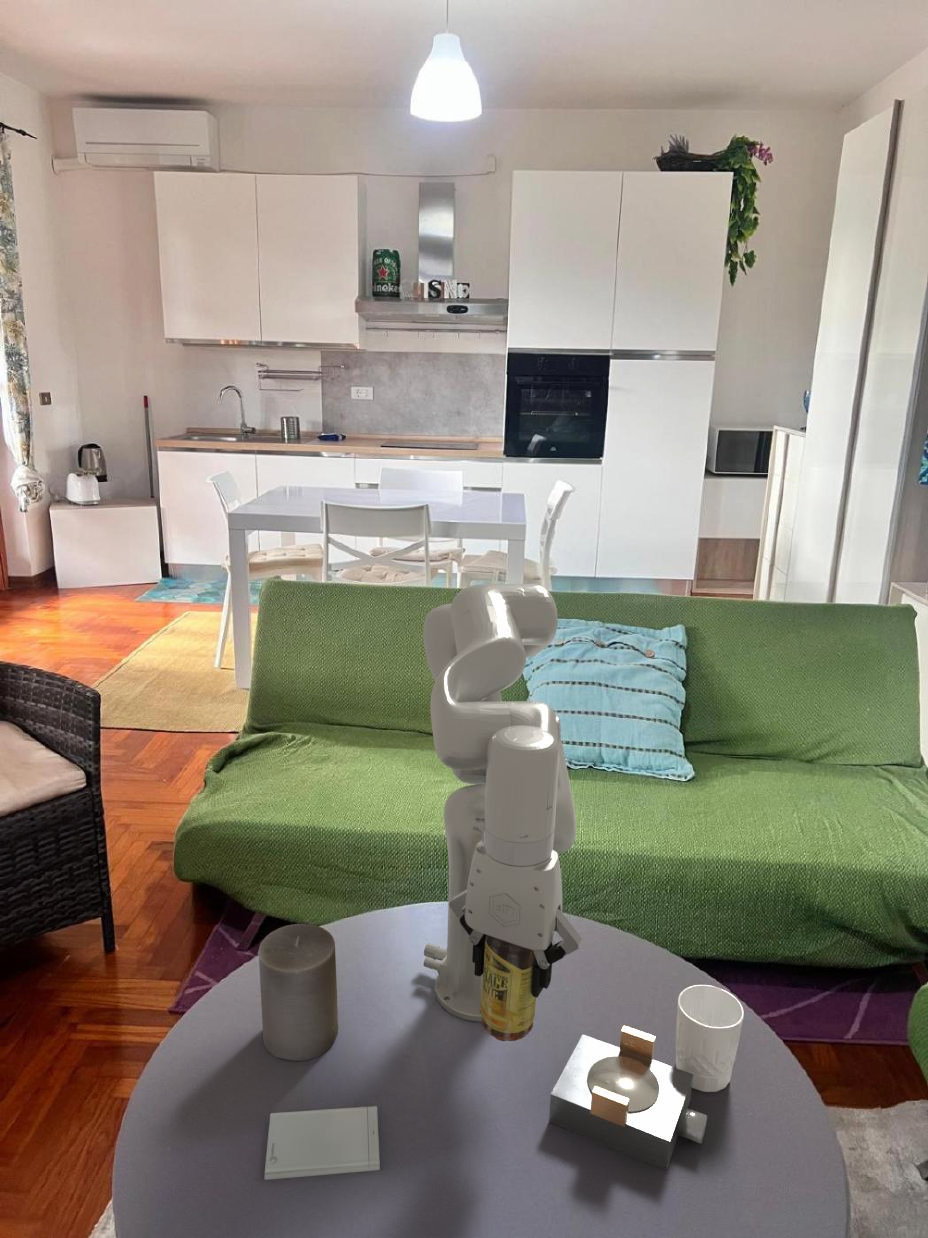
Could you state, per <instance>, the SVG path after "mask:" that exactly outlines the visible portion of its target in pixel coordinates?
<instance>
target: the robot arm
mask: <svg viewBox="0 0 928 1238" xmlns="http://www.w3.org/2000/svg"><path fill="white" fill-rule="evenodd" d="M554 599H555V598H554V597H553V595H552V594H551V592H550V591H549V590H548V589H547V588H545V587H544V586H542V585H540V584H535V583H480V584H474V585H473V584H472V585H469V586H467V587H465V588H463V589H461V590H460V591H459V592H458V593H457V594H456V595H455V596H454V598H453V600H452V602H450V603H446V604H441V605H439V606H436V607H435V608H432V609H431V610H430V611H429V612H428V613H427V615H426V616H425V619H424V622H423V627H422V628H423V629H422V630H423V634H422V635H423V646H424V651H425V657H426V661H427V665H428V668H429V671H430V673H431V676H432V678H433V680H434V684H433V685H432V686H433V687H432V689H431V693H430V694H431V696H430V704H429V705H430V708H429V710H430V713H429V714H430V720H431V721H430V722H431V728H432V729H431V730H432V738H433V745H434V750H435V752H436V755H437V757H438V759H439V761H440V762H441V763H442V764H443V765H444V766H445V767H447V768H450V769H451V770H452V774H453V775H454V777H455V778H456V779H457V780H458V781H459V782H461V783H464V784H468V785H466V786H462V787H459V788H457V789H455V790H454V791H453V792H451V793H450V794H449V795H448V797H447V798H446V802H445V804H444V808H443V825H444V831H445V837H446V847H447V855H448V905H447V907H448V908H447V909H448V910H447V935H446V936H447V939H446V945H447V946H446V948H443V947H441V946H440V945H436V944H434V943H430V942H427V943H426V945H425V947H424V950H423V955H424V957H425V959H424V960H423V967H425V968H427V969H431V970H435V971H436V972H437V975H436V979H435V983H434V992H435V993H434V994H435V997H436V1000H437V1001H438V1004H440V1006H441V1007H442V1008H443V1009H445V1010H446V1011H447V1012H448V1013H450V1014H452V1015H453V1016H455V1017H458V1018H459V1019H462V1020H466V1021H470V1022H479V1023H482V1015H481V1000H482V984H483V967H484V954H485V940H486V935H489V936H492V937H495V938H498V939H501V940H504V941H506V942H509V943H512V944H515V945H518V946H521V947H524V948H527V949H531V950H533V951H534V954H535V957H536V960H537V962H536V963H535V965H534V966H533V973H532V988H531V994H532V996H533V997H536V999H537V998H539V996H540V994H541V993H542V991H543V989H548V988H549V987H550V986H549V985H551V980H552V972H553V964H555V963H556V962H558V961H560V960H562V959H563V958H564V957H565V956H567V955H570V954H572V953H573V952H575V951H577V950H579V949H580V946H581V945H582V944H583V938H582V936H581V934H579V932H577V929H575V928H574V927H573V925H572V923H570V920H568V919H567V917H566V916H565V915H564V914H563V883H562V882H563V881H562V880H563V878H562V872H561V871H562V870H561V864H560V859H559V854H563V853H565V852H567V851H569V850H570V849H571V848H572V846H573V845H574V843H575V841H576V837H577V817H576V816H577V815H576V809H575V803H574V799H573V798H574V797H573V793H572V788H571V783H570V782H571V781H570V778H569V777H570V776H569V772H568V766H567V762H566V761H567V760H566V755H565V750H564V745H563V742H562V728H561V727H562V726H561V721H560V718H559V716H558V715H556V712H555V711H554V709H553V708H552V707H551V705H549V704H547V703H546V702H542V701H535V700H529V701H528V700H523V701H519V700H517V701H515V700H514V701H513V700H511V701H505V700H504V701H503V699H502V693H501V692H502V691H504V690H505V689H507V688H509V687H511V686H512V685H513V684H515V683H516V682H517V681H518V680H519V679H520V678H521V676H522V674H523V673H524V670H525V668H526V663H527V659H529V658H533V657H536V656H537V655H538V654H539V653H541V652H542V651H543V650H544V649H546V648H547V647H548V646H549V645H550V644H551V643H552V641H553V640H554V638H555V636H556V633H557V630H558V621H559V620H558V608H557V604H556V602H555V600H554ZM555 932H556V933H557V934H558V935H559V937H560V938H561V939H562V940H560V941H558V942H556V943H555V940H554V934H555Z"/></svg>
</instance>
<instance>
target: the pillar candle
mask: <svg viewBox="0 0 928 1238" xmlns="http://www.w3.org/2000/svg"><path fill="white" fill-rule="evenodd" d="M257 956H258V965H259V982H260V983H259V984H260V985H259V986H260V999H261V1000H260V1002H261V1003H260V1004H261V1017H262V1018H261V1019H262V1021H261V1022H262V1039H263V1040H262V1041H263V1044H264V1047H265V1049H266V1050H267V1052H268V1053H269V1054H270V1055H272V1056H273V1057H275V1058H277V1059H282V1060H288V1061H294V1062H296V1061H297V1062H304V1061H309V1060H312V1059H314V1058H317V1057H319V1056H321V1055H323V1054H324V1053H326V1052H327V1051H328V1050H329V1049H330V1048H331V1047H332V1046H333V1045H334V1044H335V1041H336V1040H337V1037H338V1034H339V1016H338V1015H339V1013H338V1012H339V1011H338V1008H339V1007H338V989H337V988H338V987H337V986H338V985H337V960H336V959H337V958H336V942H335V939H334V936H333V935H332V934H331V932H329V931H328V930H326V929H325V928H323V927H321V926H318V925H315V924H308V923H295V924H288V925H284V926H281V927H279V928H276V929H275V930H273V931H271V932H270V933H269V934H267V935H266V936H265V937H264V938H263V939H262V941H261V943H260V944H259V947H258V951H257Z"/></svg>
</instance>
